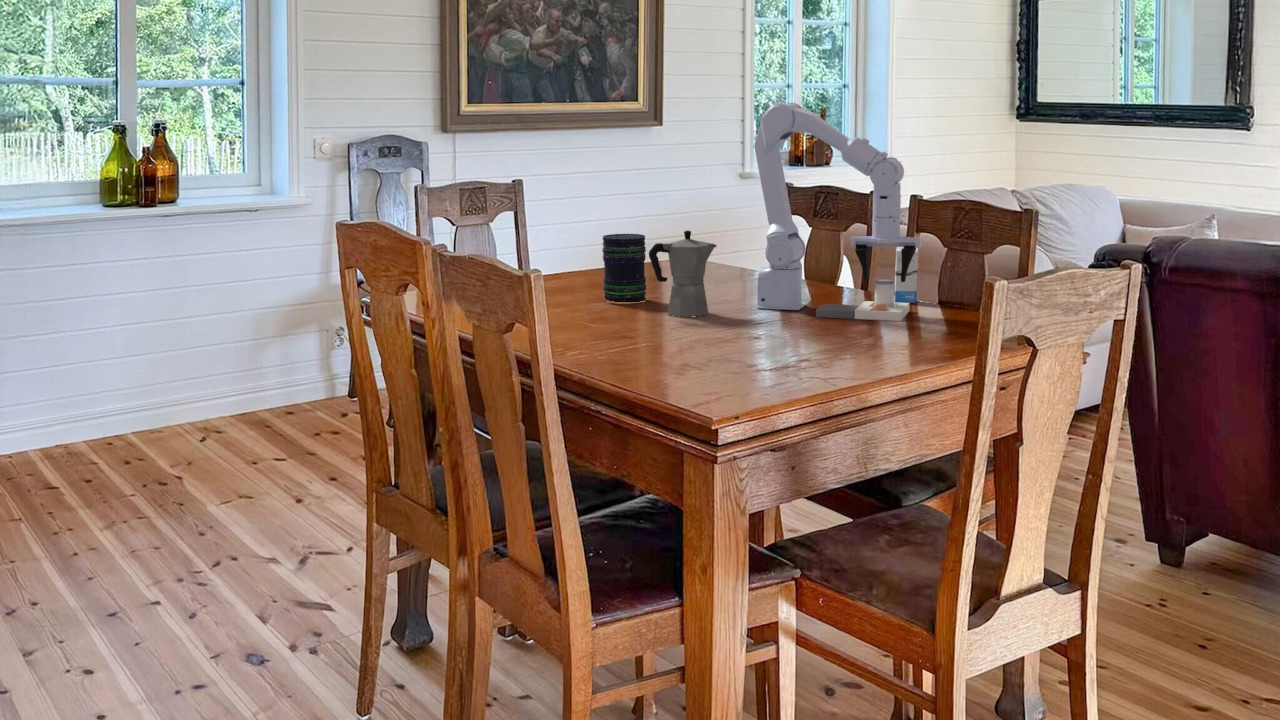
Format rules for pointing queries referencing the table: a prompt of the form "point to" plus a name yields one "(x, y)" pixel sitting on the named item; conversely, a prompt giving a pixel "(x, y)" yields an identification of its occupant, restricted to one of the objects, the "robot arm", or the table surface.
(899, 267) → the ink box
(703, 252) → the coffeepot
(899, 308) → the white plate with holes
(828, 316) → the pad
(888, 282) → the cylinder
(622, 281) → the storage jar
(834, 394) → the table surface
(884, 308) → the peach rounded piece
